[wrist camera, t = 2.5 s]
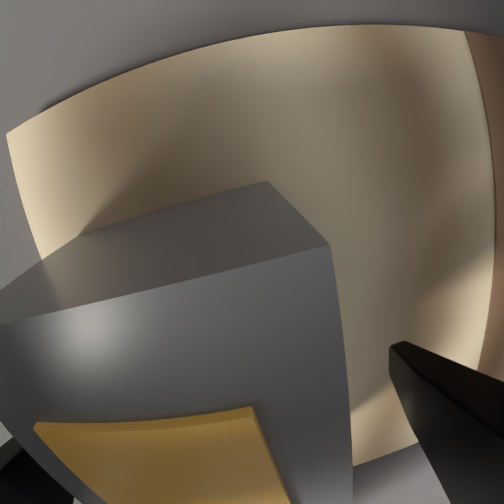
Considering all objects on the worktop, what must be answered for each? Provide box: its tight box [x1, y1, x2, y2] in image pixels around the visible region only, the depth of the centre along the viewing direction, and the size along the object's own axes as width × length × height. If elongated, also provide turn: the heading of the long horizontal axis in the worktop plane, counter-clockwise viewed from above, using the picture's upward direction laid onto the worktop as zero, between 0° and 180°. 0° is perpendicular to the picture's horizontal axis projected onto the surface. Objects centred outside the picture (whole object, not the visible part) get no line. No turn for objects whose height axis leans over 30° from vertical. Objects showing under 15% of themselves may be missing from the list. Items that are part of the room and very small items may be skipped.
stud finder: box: [0, 181, 353, 504], centre depth 6 cm, size 5×9×5 cm, turn 14°
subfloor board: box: [6, 25, 504, 466], centre depth 9 cm, size 20×16×1 cm
